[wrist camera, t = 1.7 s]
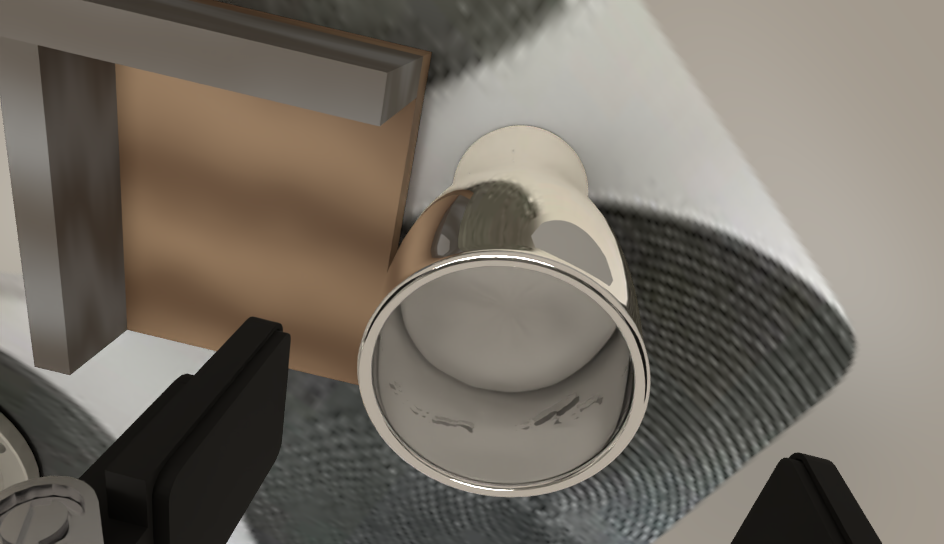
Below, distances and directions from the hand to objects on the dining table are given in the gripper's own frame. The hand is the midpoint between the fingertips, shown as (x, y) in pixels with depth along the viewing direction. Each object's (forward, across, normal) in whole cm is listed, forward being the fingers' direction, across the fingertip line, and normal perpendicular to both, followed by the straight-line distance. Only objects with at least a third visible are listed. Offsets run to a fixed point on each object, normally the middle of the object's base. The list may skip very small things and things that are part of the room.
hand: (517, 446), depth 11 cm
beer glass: (+17, +1, 0) cm, 17 cm away
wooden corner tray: (+17, +13, +4) cm, 21 cm away
